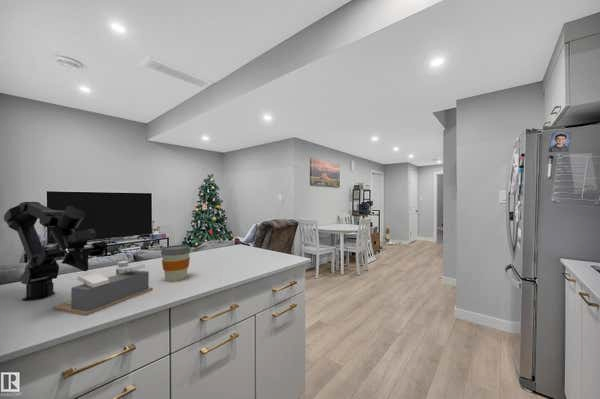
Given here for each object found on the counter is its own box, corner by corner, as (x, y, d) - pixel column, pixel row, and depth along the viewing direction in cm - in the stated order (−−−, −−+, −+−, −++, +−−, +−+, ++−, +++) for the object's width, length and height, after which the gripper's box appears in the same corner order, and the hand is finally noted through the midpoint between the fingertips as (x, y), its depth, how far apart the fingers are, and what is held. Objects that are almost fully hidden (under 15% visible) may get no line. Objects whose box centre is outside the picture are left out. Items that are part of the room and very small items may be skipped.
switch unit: (52, 309, 82) (52, 286, 82) (122, 286, 105) (122, 268, 105) (86, 315, 77) (86, 291, 77) (152, 289, 99) (152, 271, 100)
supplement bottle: (130, 280, 113) (130, 259, 113) (130, 283, 108) (130, 262, 109) (116, 282, 110) (116, 261, 110) (115, 285, 105) (115, 263, 106)
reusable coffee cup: (188, 280, 111) (188, 248, 111) (157, 283, 107) (157, 250, 107) (192, 273, 123) (192, 244, 123) (165, 275, 119) (165, 245, 119)
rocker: (118, 274, 95) (118, 270, 95) (131, 270, 100) (130, 266, 100) (133, 271, 93) (132, 267, 93) (145, 268, 98) (144, 264, 98)
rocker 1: (77, 280, 82) (77, 275, 82) (93, 276, 87) (94, 271, 86) (92, 288, 79) (93, 283, 79) (108, 283, 84) (109, 279, 84)
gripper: (42, 224, 77) (64, 261, 74) (105, 220, 95) (125, 250, 91) (27, 248, 79) (48, 284, 76) (91, 239, 97) (110, 269, 94)
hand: (86, 270), depth 84 cm, fingers closed
